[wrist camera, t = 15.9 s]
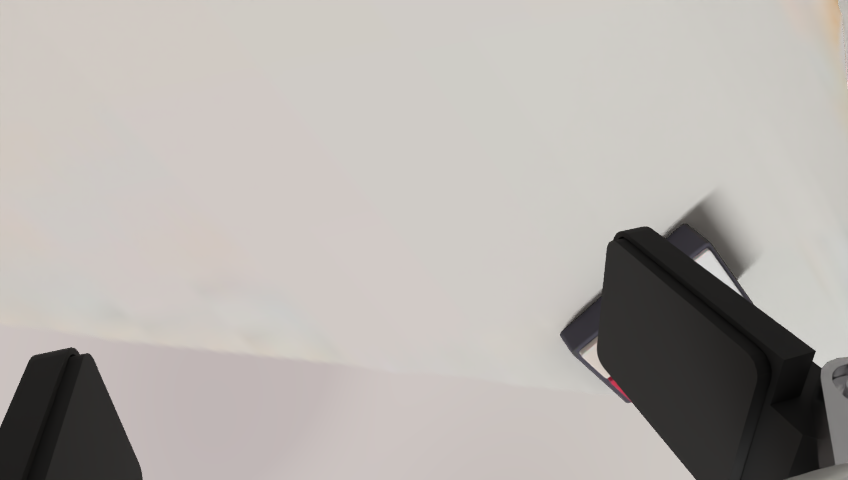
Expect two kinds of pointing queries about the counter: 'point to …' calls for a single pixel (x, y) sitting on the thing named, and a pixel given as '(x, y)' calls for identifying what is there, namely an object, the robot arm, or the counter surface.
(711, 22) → the counter surface
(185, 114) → the counter surface
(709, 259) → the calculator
